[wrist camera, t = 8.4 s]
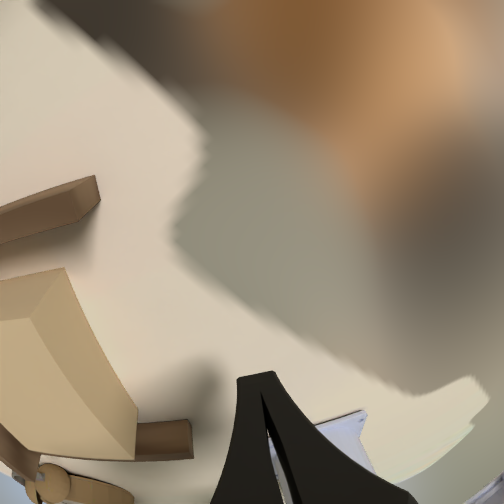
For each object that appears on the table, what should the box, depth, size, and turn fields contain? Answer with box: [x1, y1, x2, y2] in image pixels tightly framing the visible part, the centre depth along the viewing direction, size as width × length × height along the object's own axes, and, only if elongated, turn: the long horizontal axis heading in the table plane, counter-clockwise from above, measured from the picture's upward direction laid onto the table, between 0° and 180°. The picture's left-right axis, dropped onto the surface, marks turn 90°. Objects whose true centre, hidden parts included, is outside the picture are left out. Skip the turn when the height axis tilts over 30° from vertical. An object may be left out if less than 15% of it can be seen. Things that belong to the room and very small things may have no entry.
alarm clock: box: [12, 464, 134, 504], centre depth 19 cm, size 11×5×15 cm
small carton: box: [0, 267, 138, 460], centre depth 11 cm, size 10×8×4 cm
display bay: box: [0, 175, 194, 482], centre depth 10 cm, size 17×14×5 cm
